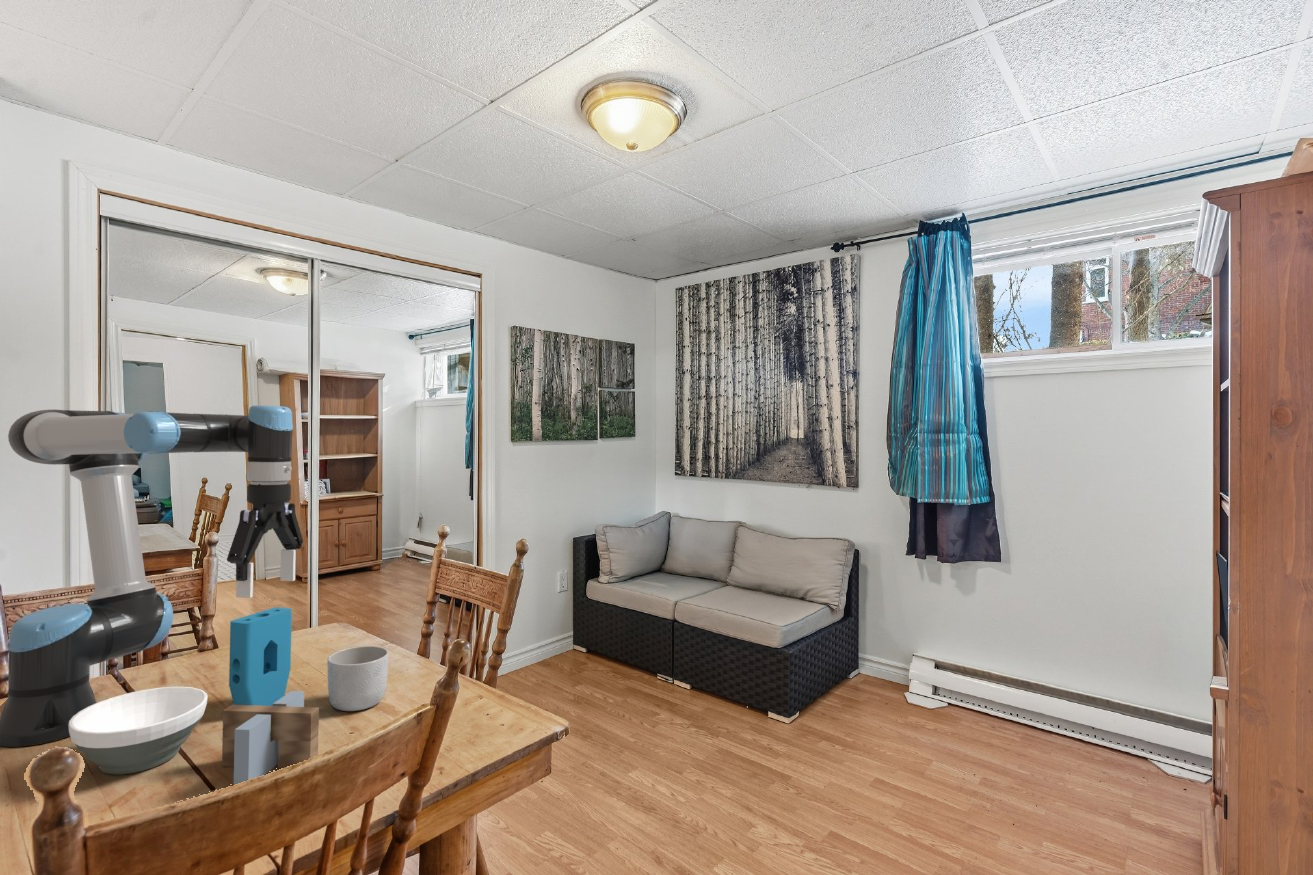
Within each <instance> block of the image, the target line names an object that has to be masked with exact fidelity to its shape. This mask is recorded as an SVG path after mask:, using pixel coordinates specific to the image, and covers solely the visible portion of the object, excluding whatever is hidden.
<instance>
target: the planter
mask: <svg viewBox="0 0 1313 875" xmlns="http://www.w3.org/2000/svg"><path fill="white" fill-rule="evenodd" d="M389 658H390V651H389V649H387V648H385V647H382V646H379V645H360V646H352V647H347V648H343V649H340V650H338V651H335V652H333V653H331V654H330V655H329V656H328V657H327V659H326V660H327V661H326V662H327V664H326V665H327V690H328V691H327V692H328V700H329V703H330V705H331V706H332V707H333V708H335V709H336V710H338V711H343V712H357V711H362V710H363V711H364V710H366V709H369V708H372V707H374V706H376V705H378V704H379V703H380V702H381V701H382V699H383V698H384V696H385V695H386V690H387V685H388V674H389V673H388V672H389V661H390V660H389Z"/></svg>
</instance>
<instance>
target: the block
mask: <svg viewBox="0 0 1313 875" xmlns="http://www.w3.org/2000/svg"><path fill="white" fill-rule="evenodd" d="M292 612H293V610H292V608H290V607H289V608H288V607H280V606H279V607H272V608H269V609H266V610H262V611H258V612H255V613H252V614H249V615H245V616H242V617H239V618H236V619H233V620H230V626H229V628H230V629H229V630H230V631H229V672H228V675H229V676H228V678H229V679H228V688H229V691H230V693H231V699H232V703H233V705H257V706H273V703H274V702H276V701H277V700H279V699H280V698H282V697H283V696H285V695H286V690H287V686H288V681H289V678H290V672H291V664H292V662H291V661H292V658H291V657H292V616H293V613H292Z"/></svg>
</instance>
